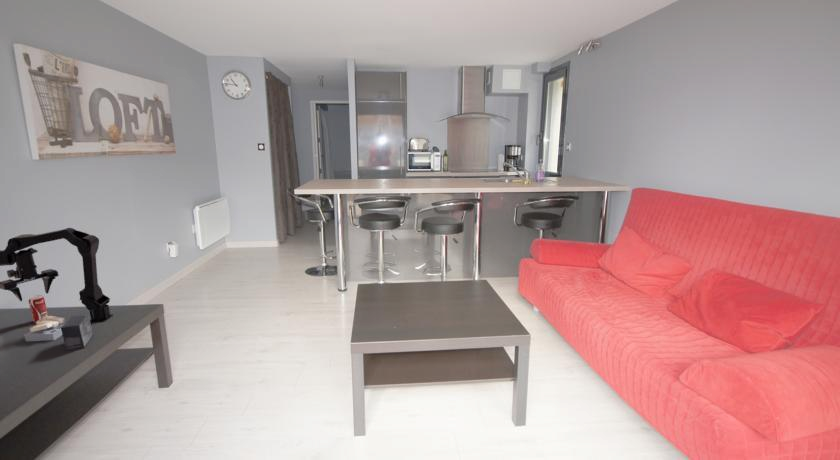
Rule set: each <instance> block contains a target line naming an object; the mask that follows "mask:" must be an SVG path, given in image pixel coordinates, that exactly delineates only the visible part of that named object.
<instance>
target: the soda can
mask: <svg viewBox="0 0 840 460" xmlns="http://www.w3.org/2000/svg"><path fill="white" fill-rule="evenodd" d="M28 305H29V308H30V313H31V317H32V321H33V323H35V324H36V322H37V321H38V320H40V319H43V318H44V317H46V316H47V315H48V316H49V314H48V308H47V304H46V300H45V297H44V296H43V294H35V295H32V296H29V297H28Z"/></svg>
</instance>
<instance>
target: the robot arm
mask: <svg viewBox="0 0 840 460" xmlns="http://www.w3.org/2000/svg"><path fill="white" fill-rule="evenodd" d="M63 239H64V240H66V241H67V242H68V243H70V244H71V245H72V246H75V247H76V248H77V252H78V253H79V255H80V256H81V257H82V269H83V281H84V282H83V283H84V288H83V289H81V290H80V291H78V292H79V293H78V294H79V301H80V302H81V304H82V305H84V306H85V308H86V309H87V310H88V312H89V317H90V322H92V323H93V322H94V323H95V322H105V321H107V320H108V319H110V318H111V317H112V316H113V315H114V314H112V313H111V311H110V306H109V303H110V301H111V298H110V297H109V296H107V295H105V294H104V293H103V290H102V288H101V287H100V285H99V282H98V269H97V256H96V255H97V253H98V250H99V245H100V239H99V237H97V236H96V235H94V234H89V233H87V232H84V231H80V230H77V229H75V228H73V227H67V228H64V229H58V230H55V231H54V230H53V231H49V232H48V231H47V232H43V233H38V234H32V233H29V234H28V233H27V234H20V235H17V236H14V237H11V238H9V239H8V241H7V245H6V247H5V249H4V250H1V249H0V267H1V266H2V267H3V266H14V265H16V266H15V270H14V269H9V270H6V274H7V277H8V278H9V279H6V280H2V281H0V290H4V291H8V292H11V293H12V294H13V295H14V296H15V298H17V299H18V300H19V301H20V302H22V301H23V297H22V294H21V291H20V287H19V286H18V285H20V284H24V283H28V282H30V281H31V282H32V281H35V280H39V279H41V280H42V282H43V286H44V292H45V293H46V294H49V292H50V290H51V289H50V288H51V286H52V283H53V281H54V279H56V277H59V272H58V270H56V269H53V268H49V269H46V270H45V269H44V270H41V271H40V273H38V271H37V268H38V266H37V265H36V263H35V259H34V255H33V254H35V253H37V252H39V251H38V250H37V249H34V248H33V247H32V246H35V245H38V244H39V245H40V244H42V243H43V244H44V243H48V242H54V241H58V240H63ZM27 248H28V249H27ZM11 278H14V279H15V280H14V279H11Z"/></svg>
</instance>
